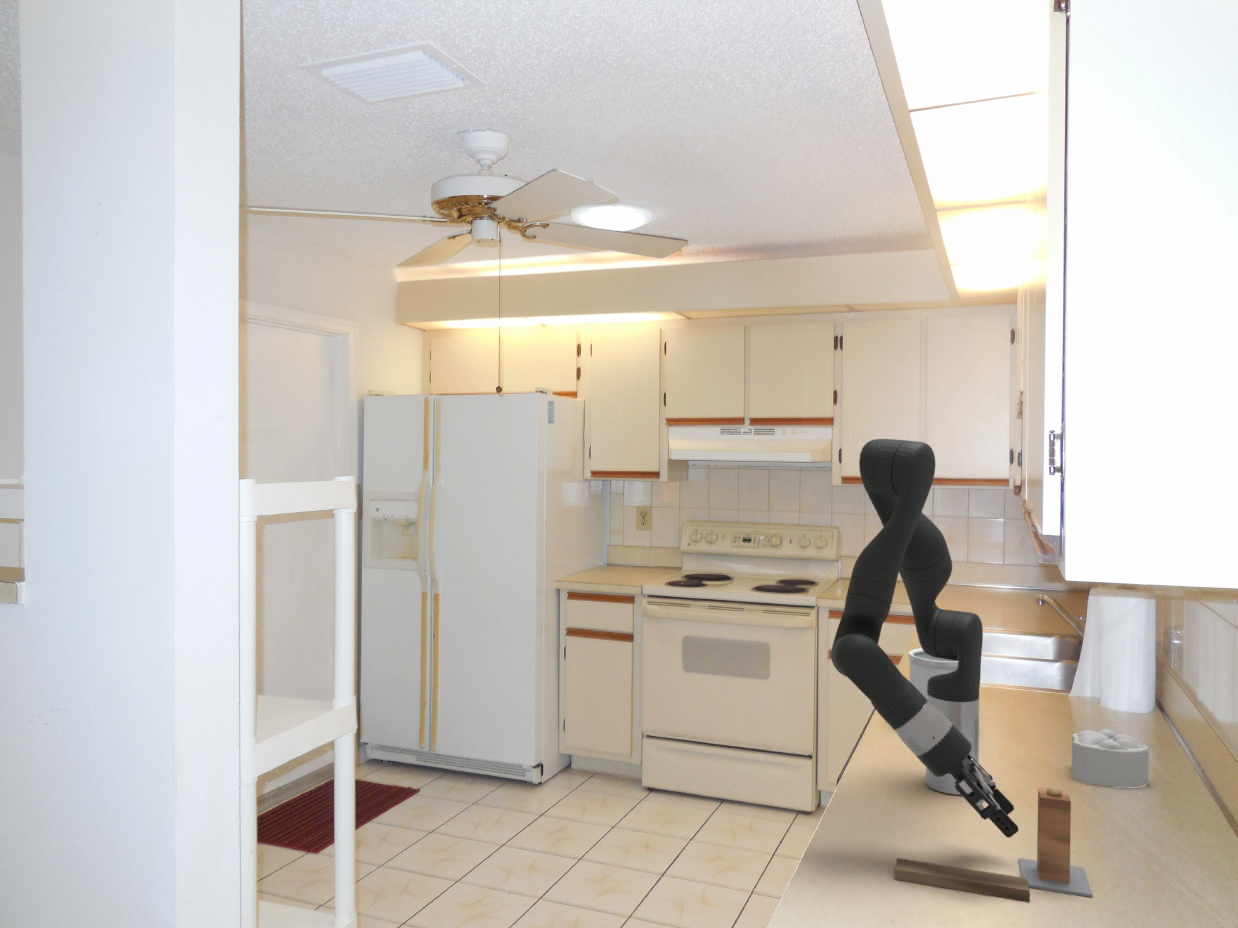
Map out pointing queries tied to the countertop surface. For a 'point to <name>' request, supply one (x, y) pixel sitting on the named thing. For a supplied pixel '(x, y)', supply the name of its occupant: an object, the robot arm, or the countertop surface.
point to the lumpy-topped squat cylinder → (1109, 759)
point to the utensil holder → (927, 668)
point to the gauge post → (1053, 835)
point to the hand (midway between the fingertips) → (1011, 822)
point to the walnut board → (962, 879)
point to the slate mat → (1076, 886)
